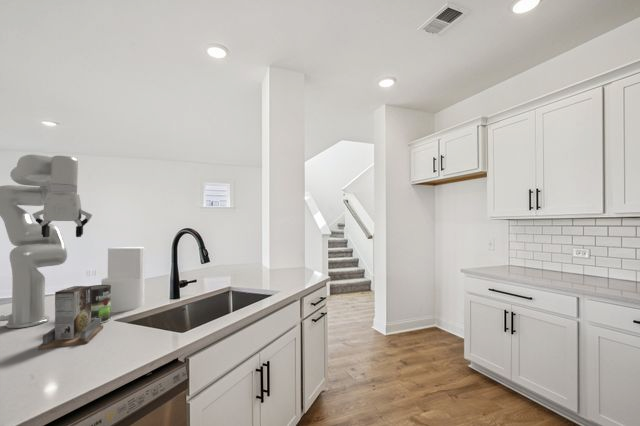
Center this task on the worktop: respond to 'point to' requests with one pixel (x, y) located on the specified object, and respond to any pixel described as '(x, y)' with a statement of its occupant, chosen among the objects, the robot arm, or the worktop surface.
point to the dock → (82, 339)
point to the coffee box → (72, 311)
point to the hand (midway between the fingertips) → (62, 236)
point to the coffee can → (101, 302)
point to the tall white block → (126, 277)
